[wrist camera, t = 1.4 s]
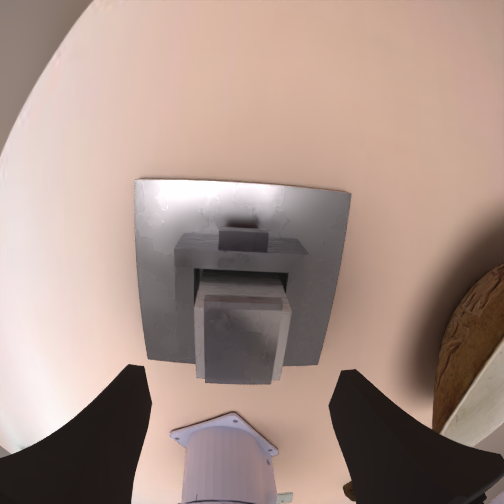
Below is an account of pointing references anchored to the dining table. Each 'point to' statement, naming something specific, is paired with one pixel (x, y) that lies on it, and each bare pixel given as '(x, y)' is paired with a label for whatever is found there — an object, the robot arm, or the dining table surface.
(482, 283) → the bowl
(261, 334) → the silver metal block
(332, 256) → the grey square plate
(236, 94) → the dining table surface
